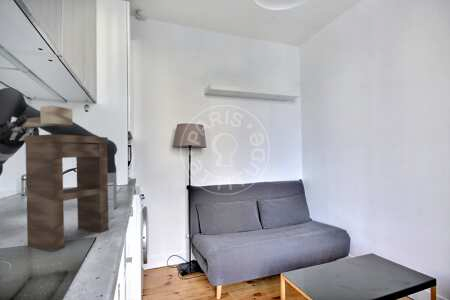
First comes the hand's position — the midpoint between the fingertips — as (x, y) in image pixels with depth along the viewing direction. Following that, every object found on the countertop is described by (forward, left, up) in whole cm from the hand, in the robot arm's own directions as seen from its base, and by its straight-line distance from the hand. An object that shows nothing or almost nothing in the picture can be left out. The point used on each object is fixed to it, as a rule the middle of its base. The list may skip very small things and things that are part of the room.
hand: (30, 118), depth 73 cm
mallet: (+4, +4, -3) cm, 6 cm away
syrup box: (-11, +19, -39) cm, 45 cm away
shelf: (+7, +12, -38) cm, 41 cm away
